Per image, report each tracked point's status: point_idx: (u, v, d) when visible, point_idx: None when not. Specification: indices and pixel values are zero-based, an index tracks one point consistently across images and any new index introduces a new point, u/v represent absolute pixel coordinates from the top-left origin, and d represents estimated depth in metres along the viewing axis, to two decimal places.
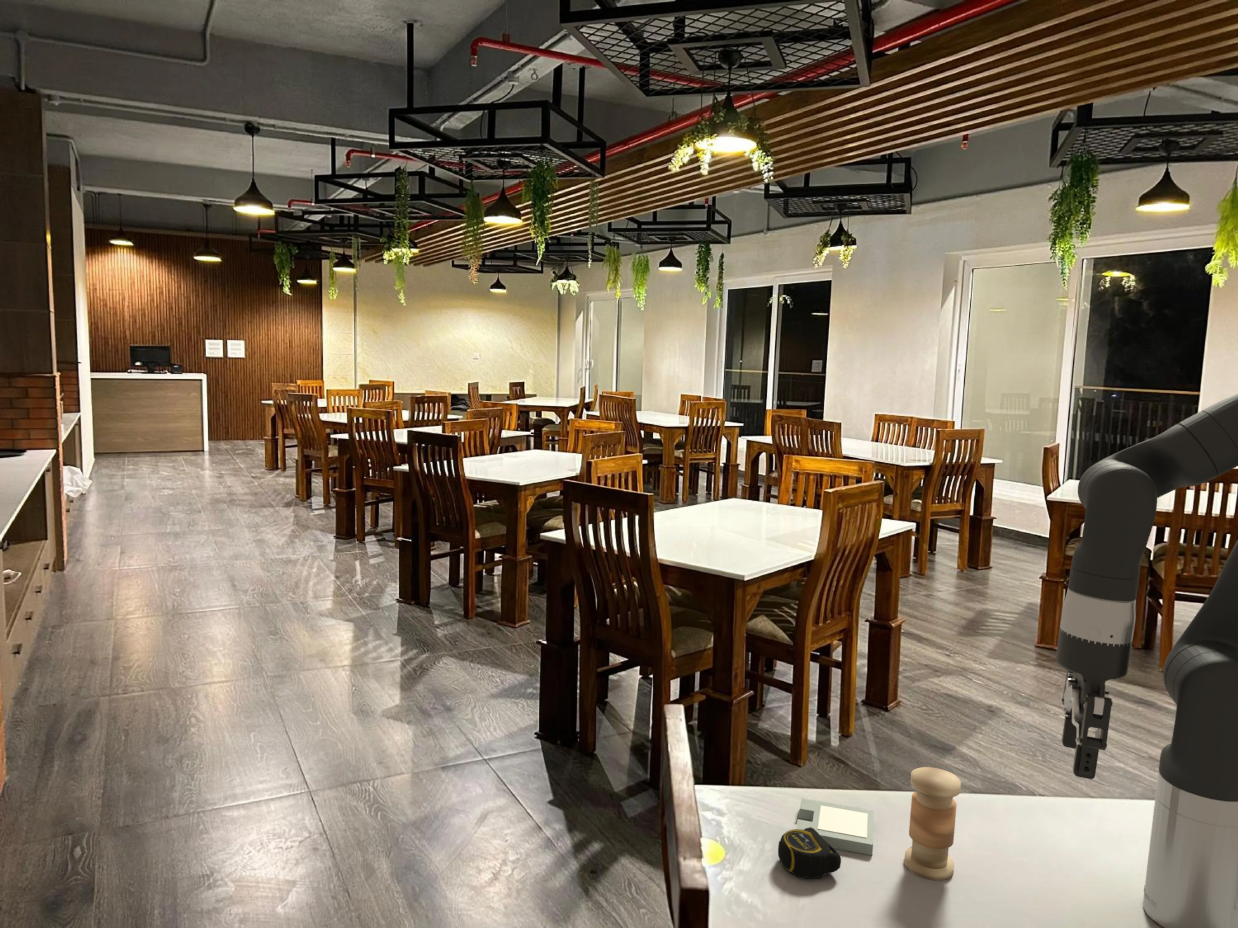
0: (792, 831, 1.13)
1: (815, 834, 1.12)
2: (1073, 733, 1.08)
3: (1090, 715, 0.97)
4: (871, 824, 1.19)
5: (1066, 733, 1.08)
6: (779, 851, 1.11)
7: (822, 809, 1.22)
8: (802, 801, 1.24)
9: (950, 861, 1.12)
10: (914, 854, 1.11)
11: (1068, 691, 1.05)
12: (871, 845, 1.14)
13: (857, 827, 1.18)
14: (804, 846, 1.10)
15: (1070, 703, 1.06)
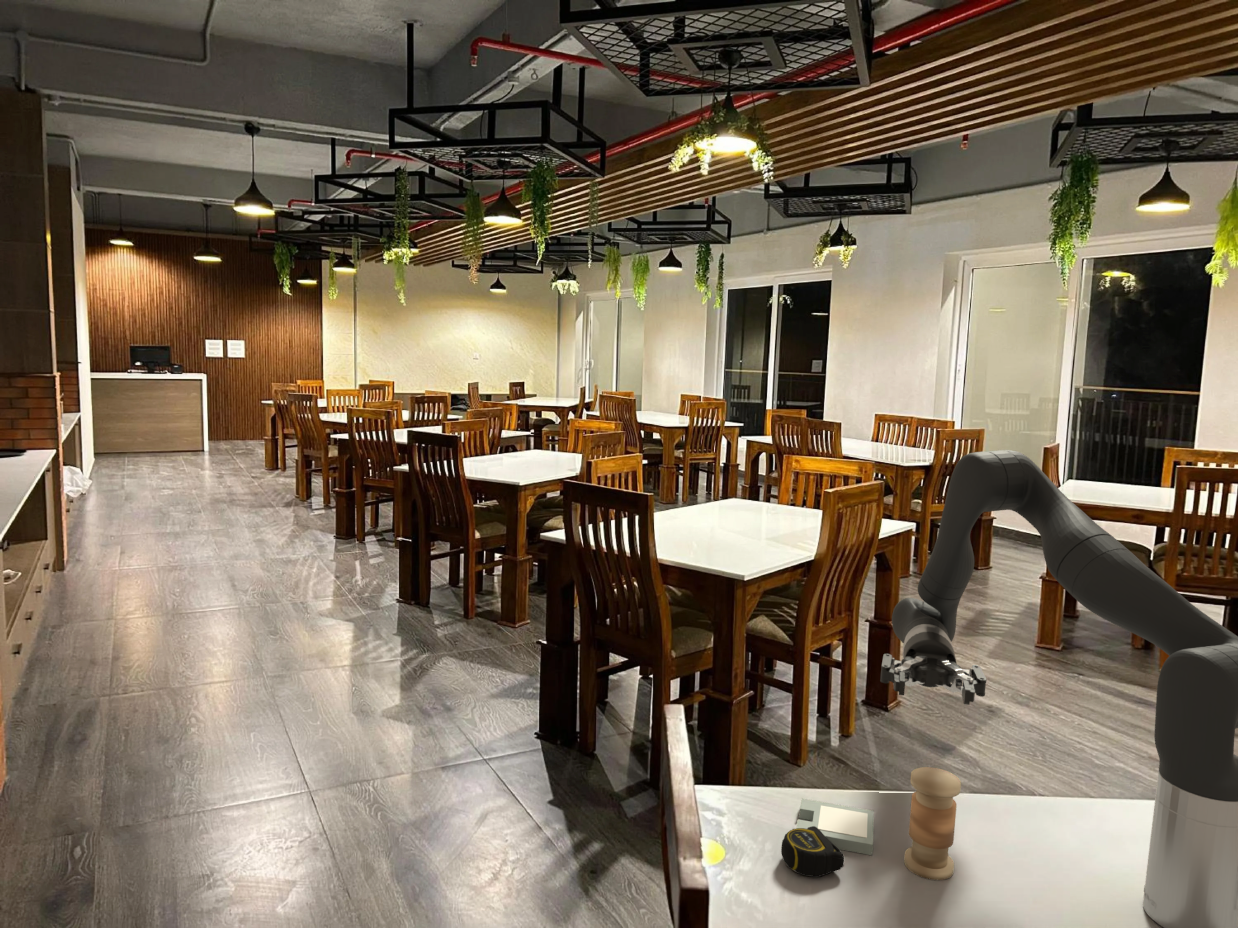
0: (796, 830, 1.13)
1: (819, 833, 1.13)
2: (963, 692, 1.21)
3: None
4: (871, 824, 1.19)
5: (963, 698, 1.21)
6: (782, 850, 1.11)
7: (822, 809, 1.22)
8: (802, 801, 1.24)
9: (950, 861, 1.12)
10: (914, 854, 1.11)
11: (939, 685, 1.28)
12: (871, 845, 1.14)
13: (857, 827, 1.18)
14: (807, 845, 1.10)
15: (952, 687, 1.25)
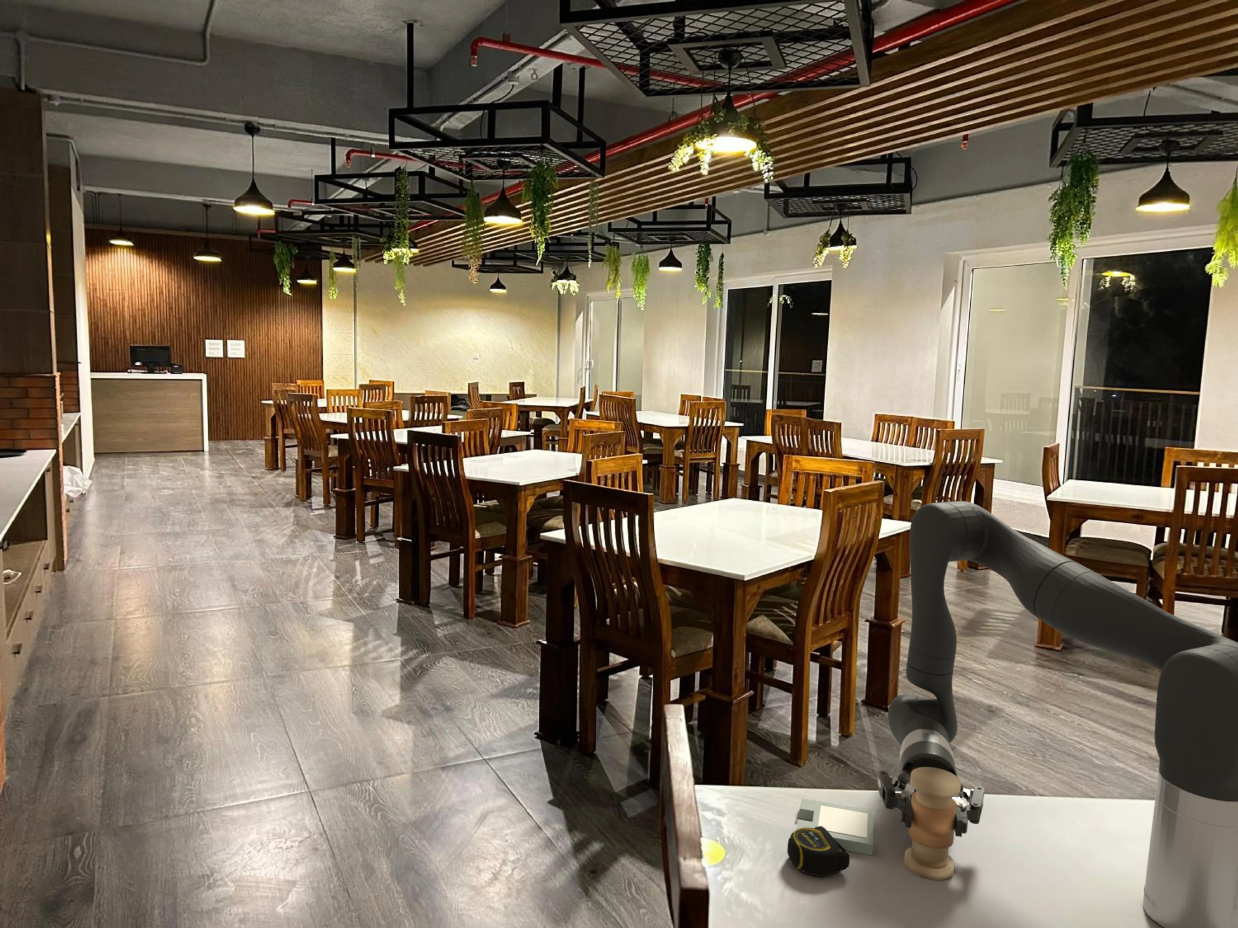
0: (802, 829, 1.13)
1: (825, 833, 1.13)
2: (955, 821, 1.10)
3: (880, 791, 1.18)
4: (871, 824, 1.19)
5: (954, 828, 1.10)
6: (788, 848, 1.11)
7: (822, 809, 1.22)
8: (802, 801, 1.24)
9: (950, 861, 1.12)
10: (914, 854, 1.11)
11: None
12: (871, 845, 1.14)
13: (857, 827, 1.18)
14: (813, 844, 1.10)
15: None
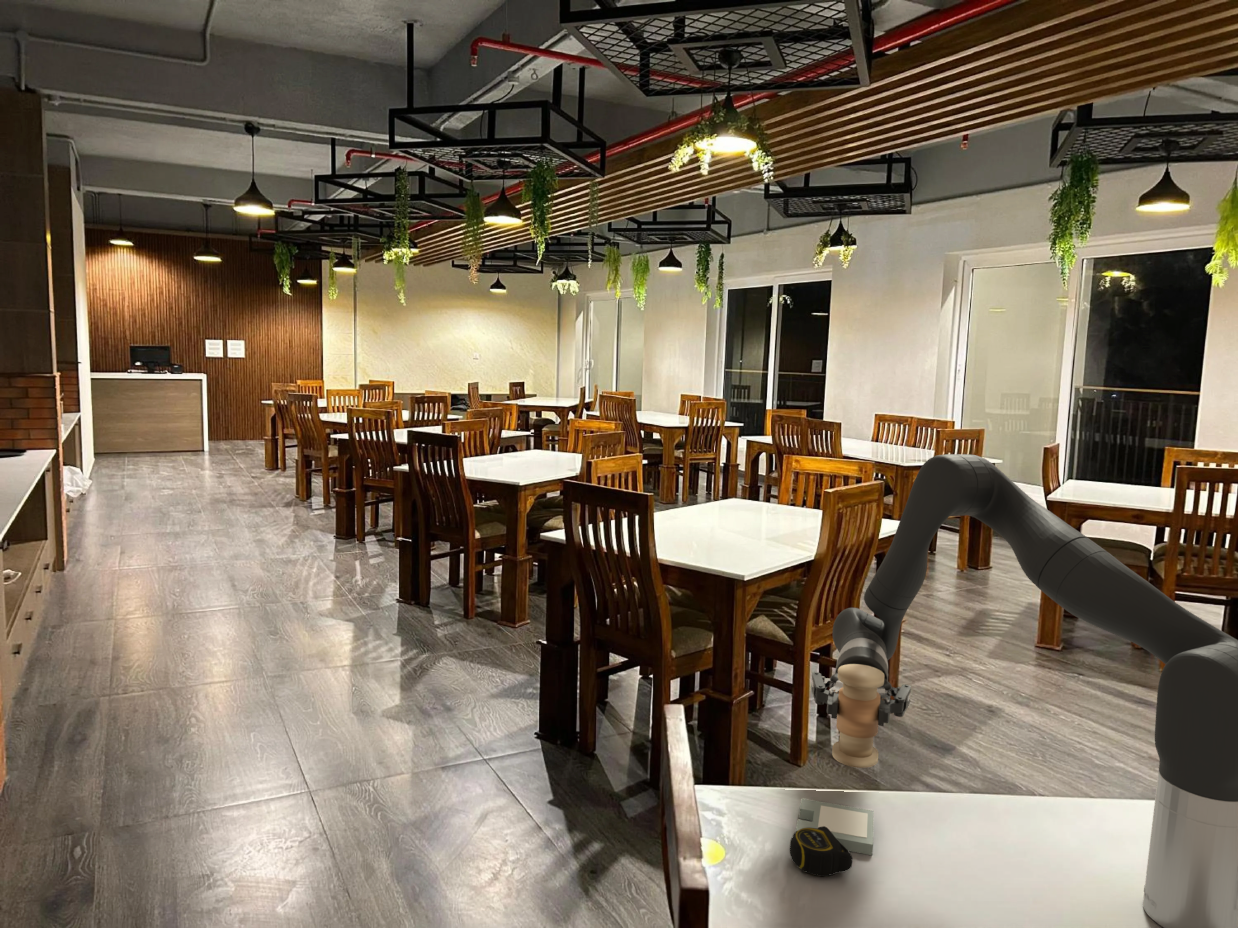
0: (805, 829, 1.13)
1: (828, 833, 1.13)
2: None
3: (812, 690, 1.24)
4: (871, 824, 1.19)
5: None
6: (790, 848, 1.11)
7: (822, 809, 1.22)
8: (802, 801, 1.24)
9: (875, 752, 1.17)
10: (840, 745, 1.17)
11: None
12: (871, 845, 1.14)
13: (857, 827, 1.18)
14: (815, 844, 1.10)
15: None
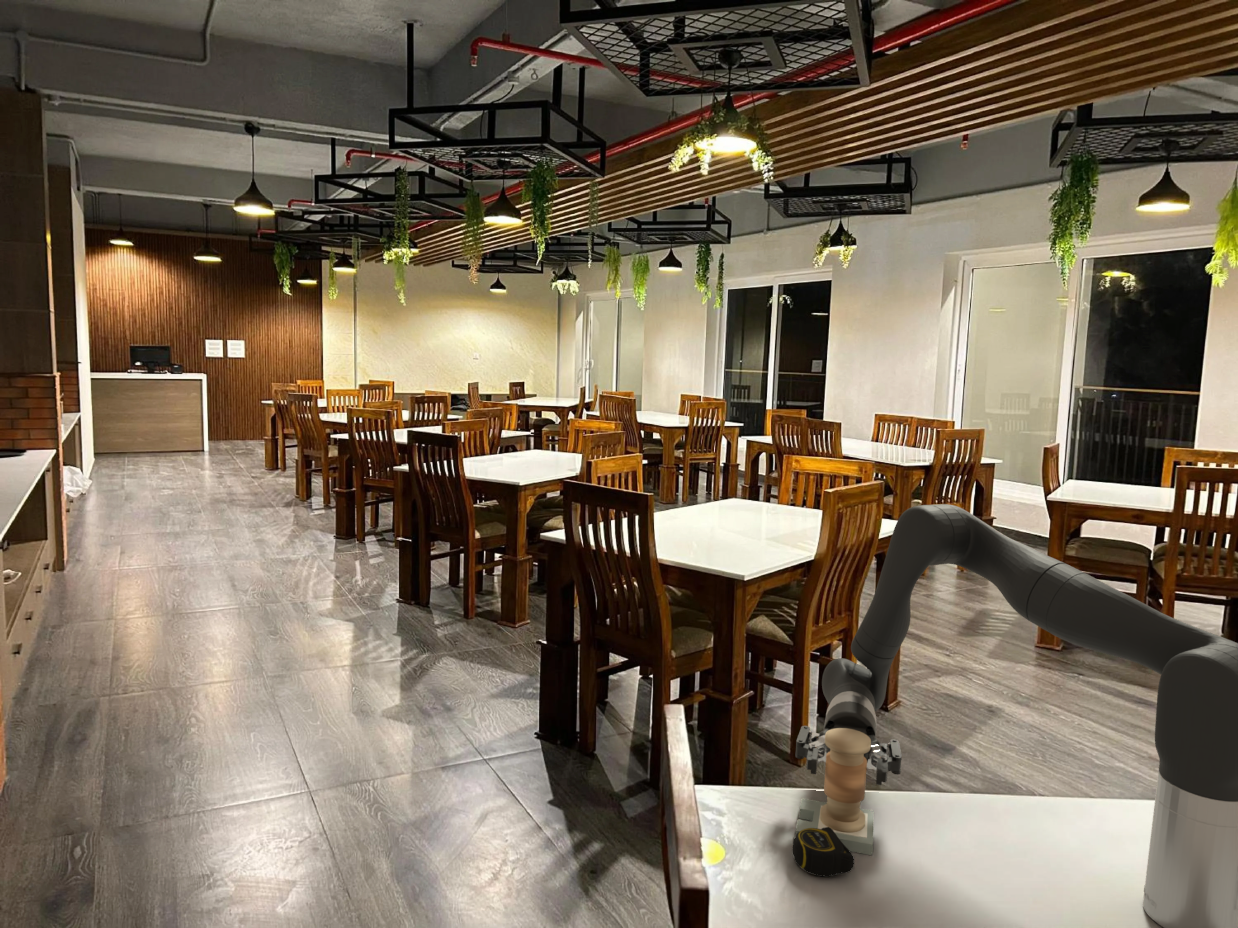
0: (808, 829, 1.13)
1: (831, 834, 1.12)
2: (876, 771, 1.17)
3: None
4: (871, 824, 1.19)
5: None
6: (793, 848, 1.12)
7: None
8: (802, 801, 1.24)
9: (862, 815, 1.19)
10: (828, 809, 1.19)
11: None
12: (871, 845, 1.14)
13: None
14: (817, 844, 1.10)
15: (868, 763, 1.21)
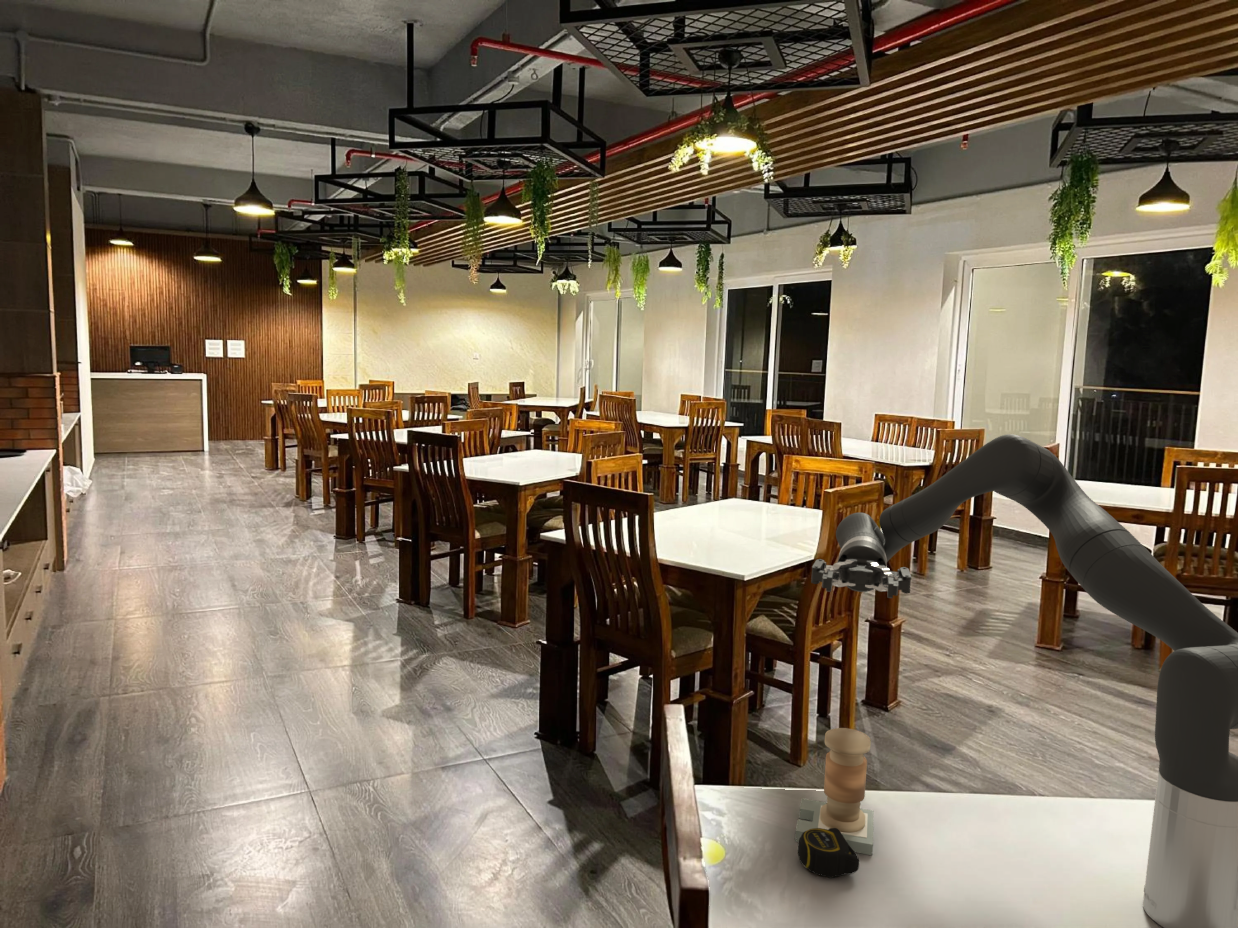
0: (815, 829, 1.13)
1: (837, 835, 1.12)
2: None
3: None
4: (871, 824, 1.19)
5: (887, 593, 1.25)
6: (798, 847, 1.12)
7: None
8: (802, 801, 1.24)
9: (862, 815, 1.19)
10: (828, 809, 1.19)
11: (869, 586, 1.32)
12: (871, 845, 1.14)
13: None
14: (822, 844, 1.10)
15: (879, 586, 1.29)
